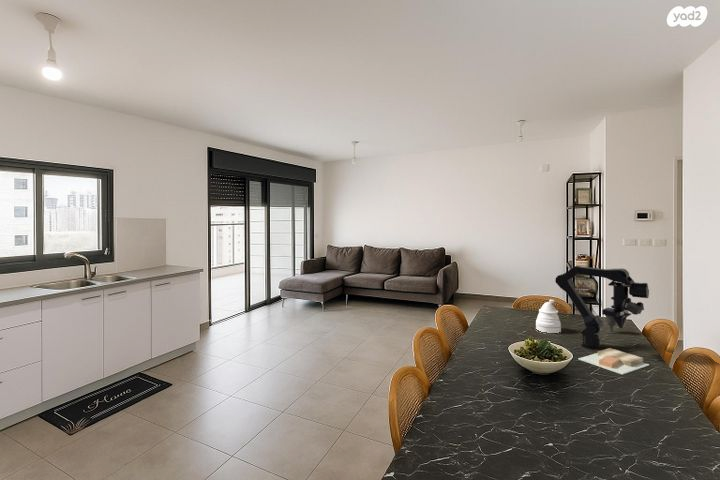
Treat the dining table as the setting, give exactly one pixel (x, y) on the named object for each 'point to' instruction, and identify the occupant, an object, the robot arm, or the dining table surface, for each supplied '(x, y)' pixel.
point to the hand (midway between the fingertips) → (620, 327)
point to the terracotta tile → (609, 361)
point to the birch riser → (621, 357)
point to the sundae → (610, 324)
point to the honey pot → (548, 319)
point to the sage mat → (618, 369)
